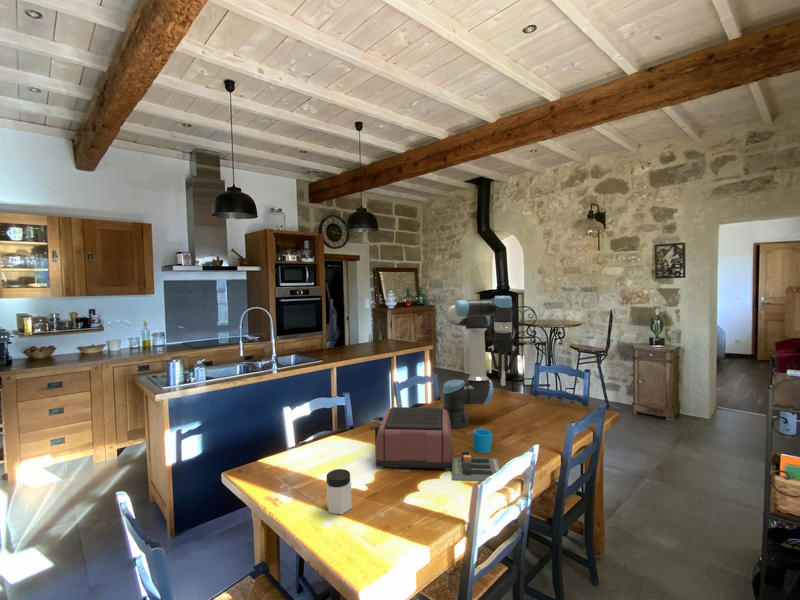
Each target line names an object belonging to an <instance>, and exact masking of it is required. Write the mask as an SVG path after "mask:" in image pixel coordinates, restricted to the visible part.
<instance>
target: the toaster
mask: <svg viewBox="0 0 800 600" xmlns="http://www.w3.org/2000/svg"><path fill="white" fill-rule="evenodd" d="M373 420H374V421H378V425H376V426H370V427H369V430H371V431H374V444H375V449H374V450H375V451H374V455H375V465H376V468H377V469H381V470H382V469H383V468H385V467H386V468H387V467H388V468H389V467H393V468H421V469H424V468H425V469H444V471H452V457H453V439H452V437H453V436H452V428H451V424H450V418H449V414H448V411H447V410H445V409H443V408H441V407H404V406H403V407H401V406H400V407H398V406H396V407H395V406H394V407H391V408H386V410H385V413H384V416H379V417H378V416H377V417H376V416H375V417H374V419H373Z"/></svg>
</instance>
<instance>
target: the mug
mask: <svg viewBox="0 0 800 600" xmlns="http://www.w3.org/2000/svg"><path fill="white" fill-rule="evenodd" d="M472 433H473V434H472V436H473V437H472V441H473V442H472V444H473V445H472V446H473V447H472V448H473V451H474V452H475V453H479V454H489V453H491V452H492V442H493V439H494V437H493V436H494V435H493V433H492V432H491V430H489V429H485V428H477V429H474V430H473V431H472Z"/></svg>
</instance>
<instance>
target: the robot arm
mask: <svg viewBox="0 0 800 600" xmlns="http://www.w3.org/2000/svg"><path fill="white" fill-rule="evenodd" d="M491 317H493V330H494V332H493V343H492V345H491V346H488V347H487V349H488V350H489V353H490V357H491V360H492V364H493V368H494V369H495V370H497V371H498V373H497V375H498V378H499V379H500V385H501V386H502V387H504V386H506V379H508V377H509V373H508V372H509V371H510V370H512V369H513V365H514V361H515V358H516V353H518V351H519V348H518V347H517V346H515V345H514V343H513V332H512V331H513V318H512V317H513V298H512V296H511V295H495V296H494V298H491V299H460V300H459V299H458V300H456V301H455V305H451V306H450V307H448V308H447V309H446V311H445V318H446V320H447V322H448V323H449V324H451V325H453V326H455V327H456V326H457V327H458V326H459V327H465V330H466V331H467V332H468V346H469V347H468V348H469V349H468V351H469V372H470V373H469V377H468V378H467V382H465V380H463V379H451V380H447V381H446V382H444V383H443V385H442V386H443V387H442V395H443V396H442V397H443V398H442V399H443V400H442V401H443V402H442V405H443V406H442V407H443V408H442V409H445V410H447V411H448V414H449V418H450V424H451V429H462V428H463V429H464V428H466V427H468V426H469V419H468V415H467V412H466V407H465V406H467V405H487V404H490V403H491V402H492V401H493V397H494V385H493V382H492V381H490V378H489V377H488V376H487V366H486V363H487V362H486V339H485V332H486V331H487V330H488V326H490V325H491ZM495 350H496V352H497V356H498V357H497V359H496V355H495V352H494V351H495ZM510 350H511V354H510V359H509V352H510ZM502 359H503V360H502ZM497 361H498V363H497ZM503 366H504V367H503Z"/></svg>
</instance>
